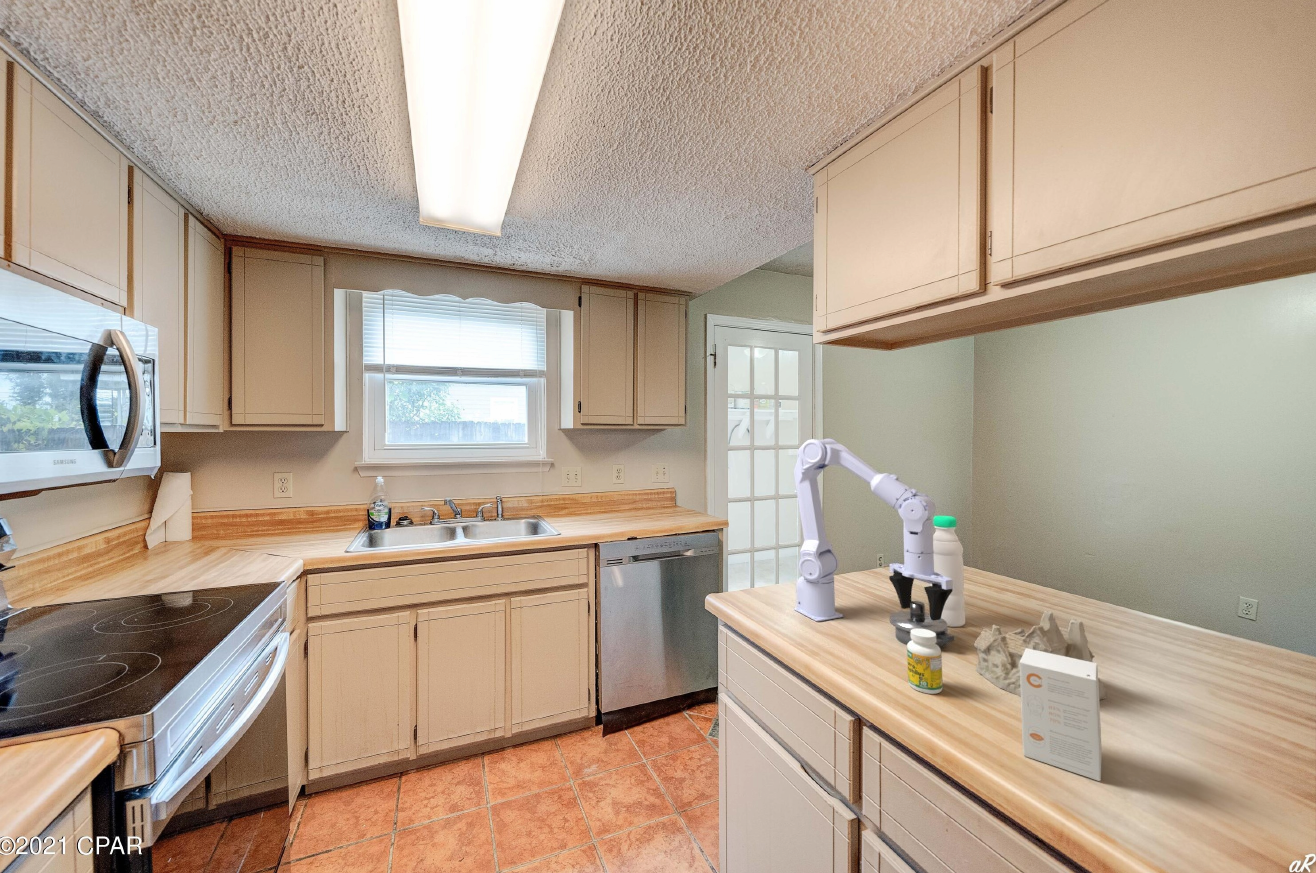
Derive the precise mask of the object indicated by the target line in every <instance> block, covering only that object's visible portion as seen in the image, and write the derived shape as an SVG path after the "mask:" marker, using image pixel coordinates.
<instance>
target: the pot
mask: <svg viewBox="0 0 1316 873" xmlns="http://www.w3.org/2000/svg"><path fill="white" fill-rule="evenodd" d="M894 628H895V629H894V630H895V638H896V640H897V641H898V642H900V643H902V644H904V645H906V646H907V644H908V643H909V642H910V641H912V639H911V637H910V636H911V635H910V633H911V632H907V631H904V630H901V629H899V628H896V627H895V626H894ZM936 640H937V641H936V643H935V644H936V645H938V646H939V647H940V649H941V650H943V649H945V648H947V647H948V646H949V643H952V642H955V635H952V634H949V632H948V628H947V631H946V632H944V633H941V634H936Z"/></svg>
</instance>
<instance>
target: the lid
mask: <svg viewBox="0 0 1316 873" xmlns="http://www.w3.org/2000/svg"><path fill="white" fill-rule="evenodd" d="M925 609H926V608H925V602H922V601H918V600H911V602H910V608H909V610H899V611H894V612H892V613H890V614H889V622H890V625H892V626H893V627H894V628H895V627H896V628H899V629H901V630H904V631H907V632H911V630H912V629H926V630H930V631H932V632H934V633H935V634H941V633H944V632H946V631H947V629H948V626H947V622H946V621H945V620H944V619H942V618H941V619H940V620H935V621H933V620H931V618H930V613H928V612H926V610H925Z"/></svg>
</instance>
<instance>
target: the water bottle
mask: <svg viewBox="0 0 1316 873" xmlns="http://www.w3.org/2000/svg"><path fill="white" fill-rule="evenodd" d="M932 525H933V526H934V529H935V532H933V547H934V572H937V573H939V574H941V575H943V576H945V577H947V578H950V579H953V591H952V592H951V594H950V595H949V597H948V599H947V601H946V603H945V605H944V608H943V611H942V615H941V618H942V619H944V620H945V621H946V622H947V627H950V628H951V627H952V628H960V627H962V626H964V625H965V624H966V613H965V604H966V603H965V602H966V601H965V595H964V588H965V587H964V586H965V573H964V572H965V569H964V559H963V553H964V548H963V544H962V543H961V541H960V540H959V537H958V536H957V534H956V532H955V531H956V527H957V518H956V517H954V516H950V515H934V516H933V519H932ZM929 584H930V583H929ZM929 586H932V584H930V585H929Z"/></svg>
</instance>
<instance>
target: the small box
mask: <svg viewBox="0 0 1316 873" xmlns="http://www.w3.org/2000/svg"><path fill="white" fill-rule="evenodd" d="M1019 664H1020V684H1021V696H1020V704H1021V705H1020V706H1021V708H1020V710H1021V730H1022V734H1021V735H1022V750H1023V751H1022V752H1023V756H1024V757H1026V758H1029V759H1032V760H1036V761H1039V762H1041V763H1044V764H1047V765H1050V766H1053V767H1056V768H1060V769H1063V770H1065V771H1068V772H1071V773H1074V774H1078V775H1080V776H1083V777H1085V778H1087V779H1088V778H1089V779H1092V780H1095V781H1098V782H1101V779H1102V755H1103V754H1102V737H1101V736H1102V727H1101V726H1102V725H1101V724H1102V723H1101V708H1100V705H1101V704H1100V701H1099V683H1098V678H1099V669H1098V663H1097V662H1094V661H1093V662H1088V661H1084V660H1079V659H1074V658H1070V657H1065V656H1060V655H1056V654H1051V653H1046V652H1042V651H1037V650H1032V649H1028V648H1026V649H1025V651H1024V653H1023V656H1022V658H1021V660H1020V662H1019Z"/></svg>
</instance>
